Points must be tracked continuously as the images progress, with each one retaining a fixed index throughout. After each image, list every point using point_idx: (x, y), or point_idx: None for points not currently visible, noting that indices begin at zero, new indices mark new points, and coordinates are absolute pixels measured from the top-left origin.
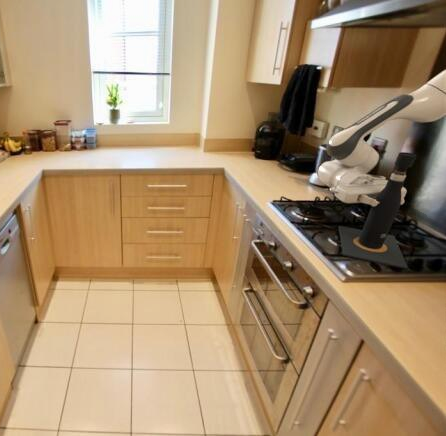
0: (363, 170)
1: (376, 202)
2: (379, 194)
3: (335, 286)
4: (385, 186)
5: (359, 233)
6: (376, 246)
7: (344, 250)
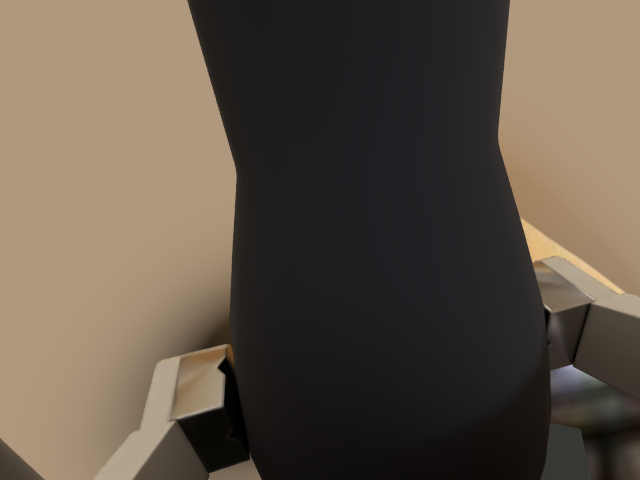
0: None
1: (543, 260)
2: (534, 278)
3: (577, 261)
4: (489, 147)
5: None
6: None
7: (579, 469)
